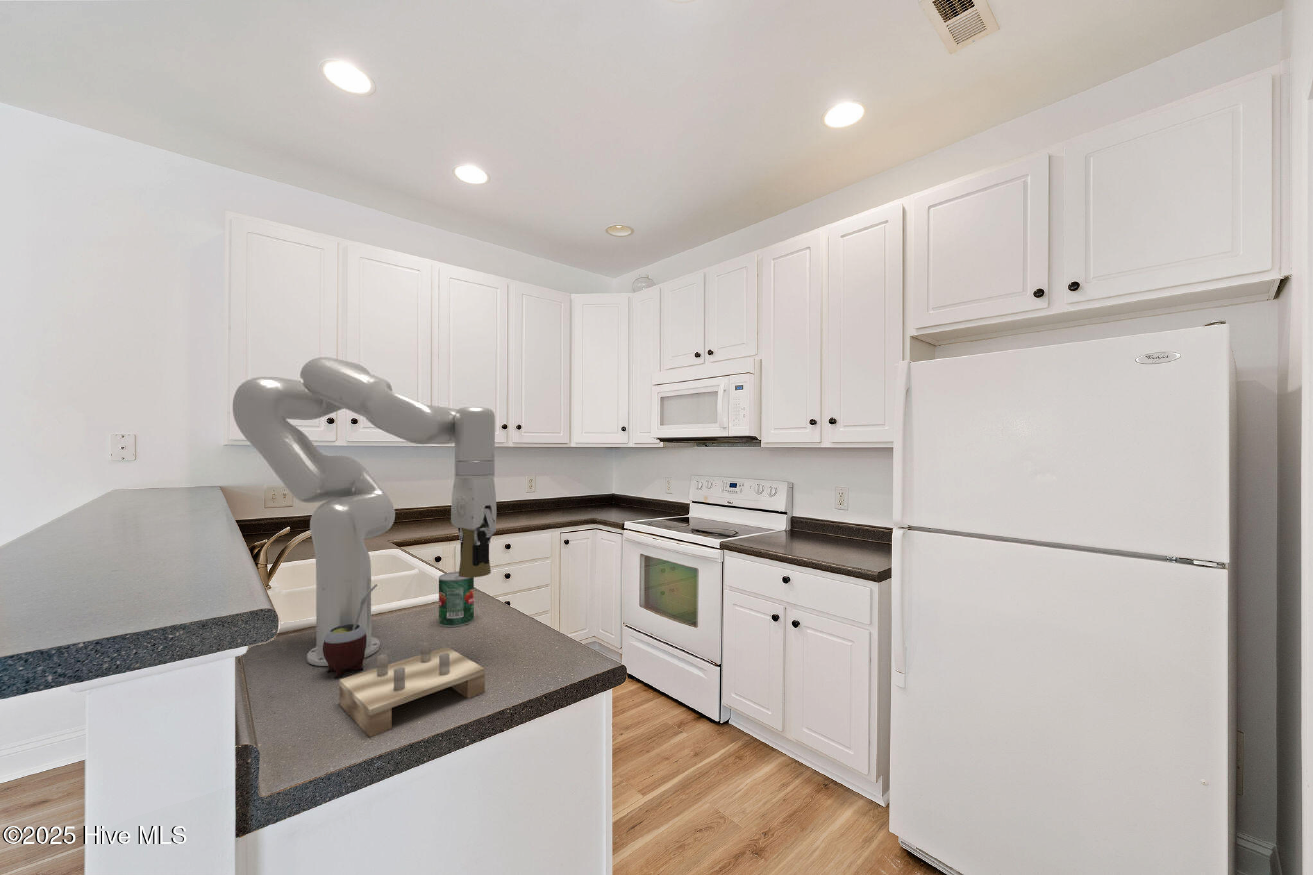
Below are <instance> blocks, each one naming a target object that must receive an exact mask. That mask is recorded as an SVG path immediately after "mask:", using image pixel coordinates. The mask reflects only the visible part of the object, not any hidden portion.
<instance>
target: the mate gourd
mask: <svg viewBox="0 0 1313 875" xmlns="http://www.w3.org/2000/svg"><path fill="white" fill-rule="evenodd" d="M377 586H378V584H374V585H373V586H371V589H370V590H369V591H368V592H367V593H366V594H365V596H364V597H363V598H362V600H361V602H360V608H359V611H358V614H357V617H356V620H355V623H354V624H346V625H341V626H337V627H335V628H332V629H331V630H330V631H329V632H328V633H327V635H326V636H325V639H324V643H323V655H324V658H325V660H326V661H327V663H328V666H327V667H328V669H327V670H326V671H327V674H335V673H336V674H335V675H334V680H339V679H341V677H343V676H344V675H346V673H357V672H358V673H362V672H364V667H363V664H364V661H365V658H364V656H365V649H366V643H367V636H366V631H365V630H364V629H363V627H362V626H360V625H359V624H358V621H359V618H360V615H361V612H362V608H363V605H364V604H365V602H366V598H367V597H368V595H369V594H370V593H371V594H372V592H373V591H374V590H375V589H376V587H377Z"/></svg>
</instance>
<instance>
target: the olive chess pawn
mask: <svg viewBox="0 0 1313 875" xmlns="http://www.w3.org/2000/svg"><path fill="white" fill-rule="evenodd" d="M484 527H486V526H485V524H483V525H481V526H480V527H478V528H484ZM461 531H462V533H463V534H464V539H463V541H462V542H463V546H462V553H461V560H460V561H459V569H458V572H459V574H458V575H459V576H460V577H467V578H472V577H474V578H480V577H486V576H489V575H490V574H491V573H492V572H491V570H492V568H491V563H490V561H489V563H488V564H484V562H483V563H480V564H479V565H478V566H474V565H473V545H475V542H474V530H468V529H464V528H461ZM482 532H484V531H479V535H481V533H482Z"/></svg>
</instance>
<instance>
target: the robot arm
mask: <svg viewBox="0 0 1313 875" xmlns="http://www.w3.org/2000/svg"><path fill="white" fill-rule="evenodd" d="M299 377H300V380H299V379H291V378H283V377H276V376H258V377H252V378H250V379H247V380H245V381H243V382H242V383H241V384H240V385H239V386H238V387H237V389H236V390H235V393H234V396H233V399H232V400H233V401H232V416H233V419H234V422H235V424H236V426H237V427H238V429H239V431H240V433H241V434H242V436H243V437H244V438H245V439H246V440H247V442H248V443H249V444H251V446H252V447H253V448H254V449H256V451H257V452H258V453H259V454H260V455H261V457H262V458H263V459H264V460H265V462H267V464H268V465H269V467H270V468H271V470H272V471H273V472H274V474H276V476H277V478H278V479H279V480H280V481H281V482H282V484H283V485H284V486H285V488H287V490H288V491H289V492H290V494H291V495H292V496H293V497H294V498H295V499H296V500H298V502H299V501H300V502H301V503H307V504H312V503H313V504H315V503H322V502H323V503H322V504H320V505H319V506H318V507H316V509H314V511H313V512H312V515H311V516H310V521H309V531H310V536H311V540H312V543H313V548H314V555H315V556H314V557H315V580H316V582H315V584H316V586H315V587H316V589H315V592H316V593H315V595H316V596H315V598H316V599H315V600H316V606H315V609H316V611H315V612H316V613H315V615H316V620H315V621H316V625H315V626H316V630H315V631H316V633H315V634H316V637H315V638H316V641H315V643H316V646H315V647H313V648H312V649H310V650H309V651H308V652H307V654H306V661H307V663H308V664H311V665H313V666H317V667H329V666H328V663H327V661H326V660H325V658H324V655H323V643H324V639H325V636H326V635H327V633H328V632H329V631H330V630H331V629H332V628H335V627H337V626H341V625H346V624H354V623H355V620H356V617H357V614H358V611H359V608H360V602H361V600H362V598H363V597H364V596H365V594H366V593H367V592H368V591H369V590H370V589H371V588H372V564H371V563H372V562H371V557H370V553H369V551H368V549H367V546H366V544H365V541H364V540H366V539H370V538H371V539H372V538H374V537H377V536H380V535H382V534H384V533H386V532H387V531H388V530H389V529H391V527H392V526H393V524H394V522H395V519H396V518H395V517H396V510H395V506H394V505H393V502H392V501H391V499H390V497H389V495H387V493H386V492H385V491H384V489H383V488H382V487H381V486H380V485H379V483H378V482H377V481H376V479H375V478H374V477H373V476H372V475H371V473H370V472H369V470H368V469H366V466H364V465H363V464H362V463H361V462H360V461H358V460H356V459H355V458H353V457H350V456H345V455H326V454H324V453H322V452H321V451H320V450H319V449H318V448H317V447H316V446H315V444H314V443H313V442H312V441H311V439H310V438H309V437H308V435H306V434H305V433H304V432H303V431H302V430H301V429H299V428H298V427H297V426H295V425H293V424H292V423H290V422H289V421H288V420H293V421H294V420H298V421H299V420H300V421H312V420H313V421H314V420H317V419H320V418H323V417H326V416H329V415H331V414H334V413H337V412H338V411H341V410H347V411H350V412H352V413H354V414H356V415H359V416H361V417H363V418H364V419H366V421H367V422H369V423H370V424H371V425H372V426H374V427H375V428H377V429H378V430H381V431H383V432H385V433H387V434H389V435H391V436H394V437H396V438H399V439H401V440H403V441H406V442H409V443H412V444H414V445H415V444H416V445H451V444H454V479H453V486H452V492H451V508H450V523H451V525H452V526H454V527H457V531H458V532H459V537H458V538H459V541H460V553H459V554H460V560H461V553H462V546H463V539H464V534H463V533H462V531H461V528H464V529H468V530H474V542H475V545H473V565H474V566H478V565H479V564H480V563H483V562H484V564H488V563H489V562H490V544H491V539H492V537H493V535H494V534H495V533H496V532H497V528H496V524H497V496H496V483H495V477H496V471H495V470H496V451H495V450H496V415H495V412H494V410H493V409H491V408H489V407H483V406H482V407H480V406H466V407H465V406H464V407H460V408H451V407H443V406H439V405H430V404H425V403H424V404H423V403H420V402H418V401H415V400H412V399H410V398H408V397H405V396H403V395H400V394H398V393H397V392H394V391H393V388H392V385H391V383H390V382H389V381H388V380H386V379H384V378H382V377H379V376H377V375H374V374H372V373H371V372H370V371H369V370H368V368H366V367H364V366H363V365H361V364H359V363H357V362H353V361H348V360H343V359H338V358H334V357H328V356H327V357H326V356H322V357H321V356H320V357H315V358H312V359H311V360H309V361H307V362H306V363H305V364H304V365H303V366H302V367H301V370H300V374H299ZM483 524H485V526H486V527H484V528H478V527H480V526H481V525H483ZM479 531H484V532H482V533H481V535H479ZM358 624H359V625H360V626H362V627H363V629H364V630H365V631H366V636H367V643H366V649H365V656H364V659H366V658H368V657H370V656H371V655H374V654H375V653H377V651H378V650H379V649H380V646H381V642H380V639H378V638H377V637H373V636H372V592H371V593H370V594H369V595H368V597H367V598H366V602H365V604H364V605H363V608H362V612H361V615H360V618H359V621H358Z"/></svg>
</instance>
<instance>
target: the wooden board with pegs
mask: <svg viewBox="0 0 1313 875" xmlns="http://www.w3.org/2000/svg"><path fill="white" fill-rule="evenodd" d="M485 672H486V671H485V668H484V667H482V666H481V665H479V664H477V663H476V662H474V661H473V660H470V659H469V658H467V657H465V656H464V655H462V654H461V653H459V652H457V651H455V650H454V649H452V648H450V647H448V646H445V647H441V648H438V649H436V650H432V643H431V642H429V641H427V642H423V643H421V644H420V654H418V655H415V656H412V657H409V658H406V659H403V660H399V661H396V662H392V663H390V664H389V656H388V654H381V655H378V656H376V668H373V669H369V670H366V671H362V672H358V673H356V674H352V675H351V676H347V677H344V678H339V679H338V680H339V681H338V682H339V684H338V686H339V690H338V691H339V693H338V694H339V696H338V697H339V702H338V703H339V705H340V707H341V708H342V709H343V710H345V712H346V713H347V714H348V715H349V716H350V717H351V718H352V719H353V721H354V722H356V724H357V725H358V726H359V727H360V728H361V729H362V731H364V733H365V734H366V735H367V736H368V737H369V738H373V737H374V736H376V735H378V734H382V733H384V732H387V731H389V730H391V729H392V728H393V727H392V725H393V724H392V721H393V720H392V712H393V711H392V708H395V707H397V706H401V705H402V704H407V703H408V702H411V701H414V700H417V699H419V698H422V697H425V696H428V695H430V694H434V693H436V692H439V691H442V690H445V689H447V688H450V687H451V688H452V689H454V690H455V691H456V692H457V693H459V694H461V695H462V696H463V697H465V699H470V698H473V697H476V696H478V695H480V694H484V693H485V691H486V690H485V688H486V687H485V686H486V685H485V682H486V681H485V677H486V676H485V675H486V674H485Z"/></svg>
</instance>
